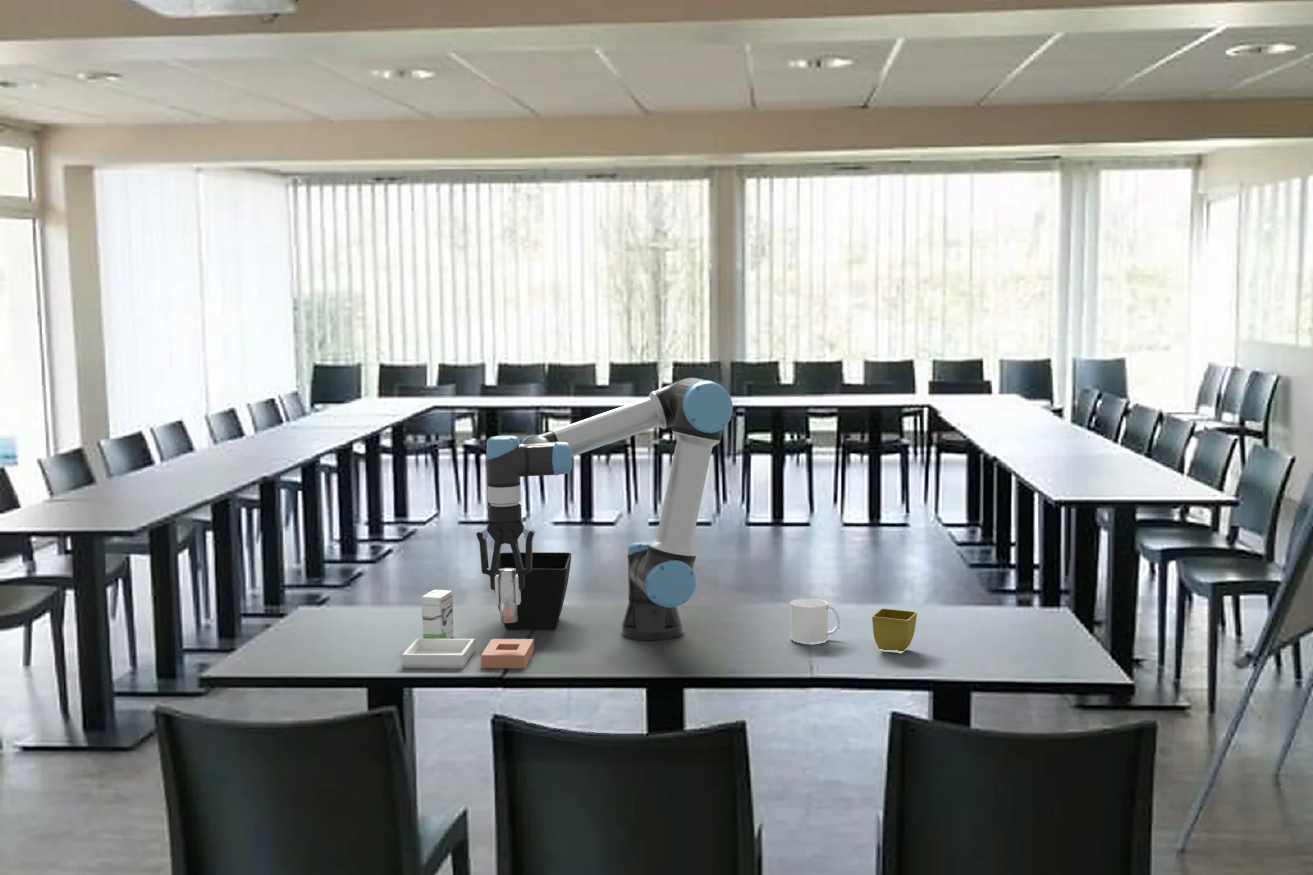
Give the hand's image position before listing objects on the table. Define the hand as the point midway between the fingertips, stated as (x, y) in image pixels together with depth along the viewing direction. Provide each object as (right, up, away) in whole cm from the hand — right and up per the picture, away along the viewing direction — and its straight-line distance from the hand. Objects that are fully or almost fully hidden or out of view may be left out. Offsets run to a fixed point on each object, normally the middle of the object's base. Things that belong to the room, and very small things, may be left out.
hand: (508, 603), depth 311 cm
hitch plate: (0, -13, +1) cm, 13 cm away
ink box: (-19, -12, +19) cm, 29 cm away
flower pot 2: (+90, -12, +6) cm, 91 cm away
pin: (0, -4, 0) cm, 4 cm away
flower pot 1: (+3, -10, +34) cm, 35 cm away
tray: (-16, -13, +2) cm, 21 cm away
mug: (+73, -11, +16) cm, 75 cm away
